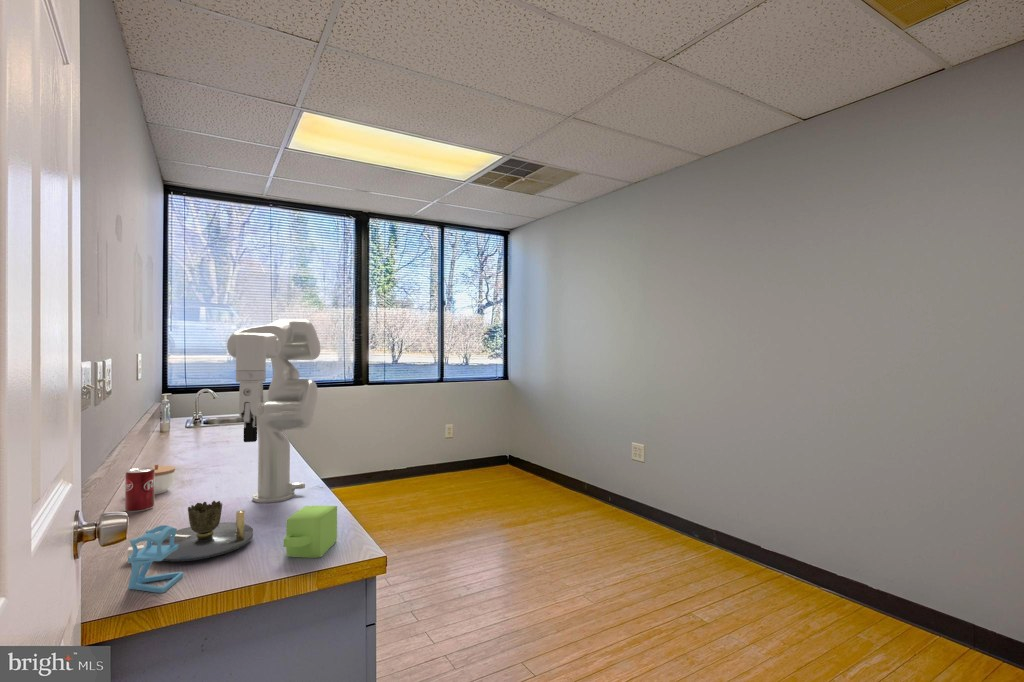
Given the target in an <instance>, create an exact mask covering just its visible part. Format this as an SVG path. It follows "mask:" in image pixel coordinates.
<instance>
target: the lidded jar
mask: <svg viewBox="0 0 1024 682" xmlns="http://www.w3.org/2000/svg"><path fill="white" fill-rule="evenodd" d="M150 467H151V468H153V469H154V470H155V494H154V495H160V494H163V493H167V492H168V490H169V489H170V488H171V487H172V486H173V483H174V481H175V477H176V476H175V475H176V467H175V466H174V465H173V466H172V465H159V464H157V463H156V464H154V466H150Z"/></svg>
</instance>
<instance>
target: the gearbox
mask: <svg viewBox="0 0 1024 682" xmlns="http://www.w3.org/2000/svg"><path fill="white" fill-rule="evenodd" d="M285 535H286V536H285V537H284V538H283V543H282V545H283V547H284V548H285V549H286V551H285V552H286V555H285V556H286V557H293V558H306V559H307V558H308V559H309V558H311V559H313V558H317V559H318V558H321V557H323V556H324V555H325V554H326V553H327V552H328V551H329V550H330V549H331V548H332V547H331V546H334V544H335V543H336V542H337V541H338V506H337V505H305V506H303V507H302V508H300V509H299V510H297V511H296V512H295V513H293V514H292V515H290V516H289V517H288V518H287V519H286V534H285ZM336 540H337V541H336ZM335 541H336V542H335ZM334 542H335V543H334ZM330 547H331V548H330ZM329 548H330V549H329ZM328 549H329V550H328ZM327 550H328V551H327ZM326 551H327V552H326ZM325 552H326V553H325ZM324 553H325V554H324ZM323 554H324V555H323Z"/></svg>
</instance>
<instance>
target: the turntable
mask: <svg viewBox="0 0 1024 682" xmlns="http://www.w3.org/2000/svg"><path fill="white" fill-rule="evenodd" d="M245 512H246V511H245V510H244V509H243V510H237V511H236V513H235V514H236V515H235V516H236V518H235V519H236V522H225V521H224V522H219V525H218V526H217V527H216V528H215V529H214V530H213V532H214V533H213V535H212V536H211V537H210V538H206V539H199V538H197V536H196V535H197V533H196V532H194V531H193V530H192V529H191V527H190V526H189V527H184V528H180V529H177V531H176V535H175V538H174V543H175V545H179V549H177V550H176V551H174V552H172V553H171V554H169V555H168V556H167V557H166V558H165V559H163V560H162V561H161V562H163V561H164V562H189V561H197V560H198V561H199V560H202V559H204V560H205V559H209V558H213V557H217V556H220V555H223V554H227V553H231V552H233V551H235V550H237V549H240V548H242V547H243V546H245V545H247V544H248V543H249V542H250V541H251V540H252V539H253V537H254V529H253V527H251V526H250V525H248V524H246V523H245V519H246V517H245V516H246V515H245V514H246V513H245ZM171 536H172V535H171ZM171 536H169V537H167V538H166V539H165V540H164V541H163V542H162V545H161V546H163V545H170V543H169V542H170V538H171ZM152 545H158V544H157V543H154V542H152Z"/></svg>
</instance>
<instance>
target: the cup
mask: <svg viewBox="0 0 1024 682" xmlns="http://www.w3.org/2000/svg"><path fill="white" fill-rule="evenodd" d="M222 509H223V502H221V501H220V500H218V501H216V500H213V501H212V502H211V504H210V503H207V501H203V502H202V503H201V502H197V503H196V504H194V505H193V504H191V505H190V506H188V507H187V515H188V521H189V527H191V529H192V530H193V531H194V532H196V533H197V535H196V536H197V538H199V539H206V538H210V537H211V536H212V535H213V533H214V532H213V530H214V529H215V528H216V527H217V526H218V525H219V523H221V522H220V521H221V516H222Z"/></svg>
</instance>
